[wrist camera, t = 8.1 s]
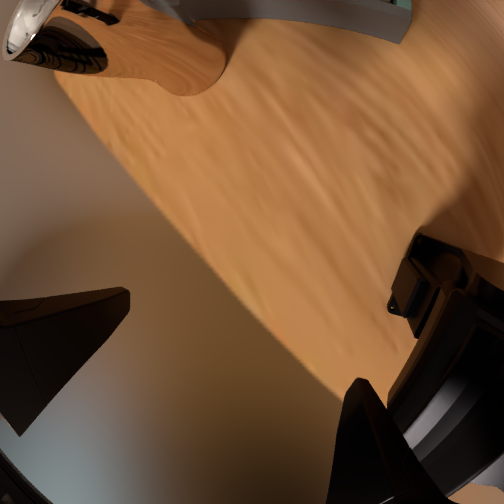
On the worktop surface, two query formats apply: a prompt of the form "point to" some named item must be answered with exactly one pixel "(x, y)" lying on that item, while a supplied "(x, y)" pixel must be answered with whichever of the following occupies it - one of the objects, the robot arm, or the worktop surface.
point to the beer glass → (117, 41)
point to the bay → (315, 13)
